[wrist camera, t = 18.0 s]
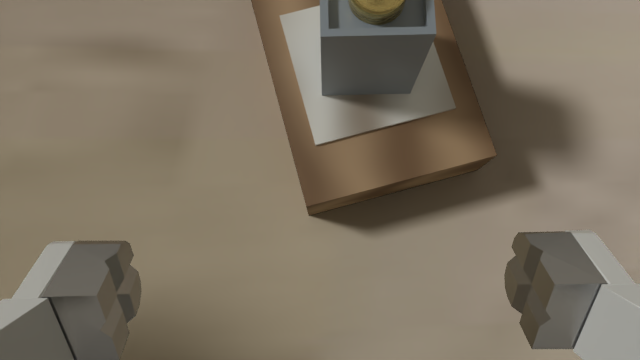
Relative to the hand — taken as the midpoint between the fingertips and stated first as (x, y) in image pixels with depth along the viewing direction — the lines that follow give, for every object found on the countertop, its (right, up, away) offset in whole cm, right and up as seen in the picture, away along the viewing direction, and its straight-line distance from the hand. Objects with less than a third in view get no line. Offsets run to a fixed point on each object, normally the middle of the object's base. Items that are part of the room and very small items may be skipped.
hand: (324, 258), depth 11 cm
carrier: (+3, +9, +21) cm, 23 cm away
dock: (+3, +9, +25) cm, 26 cm away
